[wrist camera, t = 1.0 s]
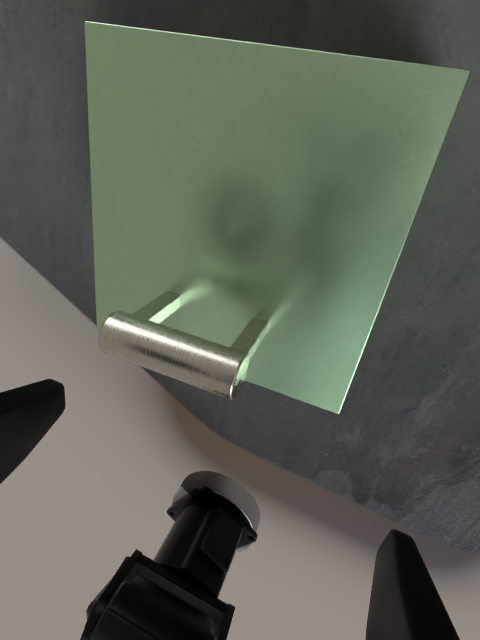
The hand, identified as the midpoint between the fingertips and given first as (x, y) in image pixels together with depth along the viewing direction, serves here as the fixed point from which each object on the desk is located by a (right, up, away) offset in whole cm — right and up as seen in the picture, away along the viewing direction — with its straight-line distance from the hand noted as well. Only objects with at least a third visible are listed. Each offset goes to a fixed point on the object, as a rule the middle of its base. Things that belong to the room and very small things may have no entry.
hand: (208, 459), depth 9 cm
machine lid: (0, +7, +6) cm, 9 cm away
